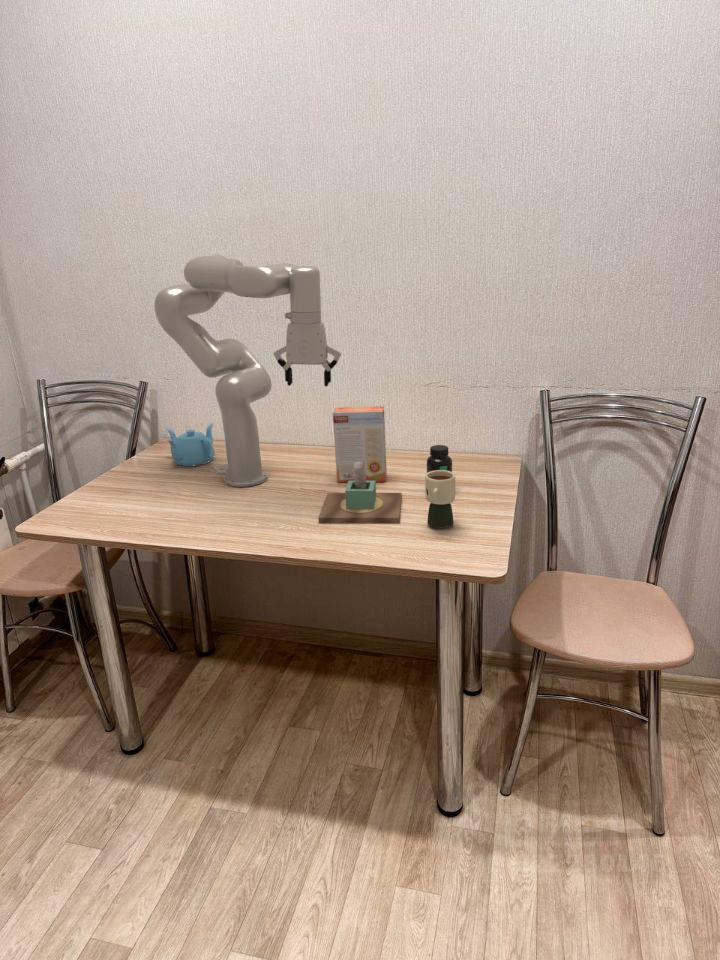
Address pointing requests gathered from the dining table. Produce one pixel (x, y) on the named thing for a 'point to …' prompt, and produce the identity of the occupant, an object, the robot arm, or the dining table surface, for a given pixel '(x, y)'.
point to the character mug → (440, 497)
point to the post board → (383, 510)
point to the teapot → (192, 447)
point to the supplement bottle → (439, 459)
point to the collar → (360, 496)
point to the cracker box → (360, 442)
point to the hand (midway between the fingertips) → (308, 384)
